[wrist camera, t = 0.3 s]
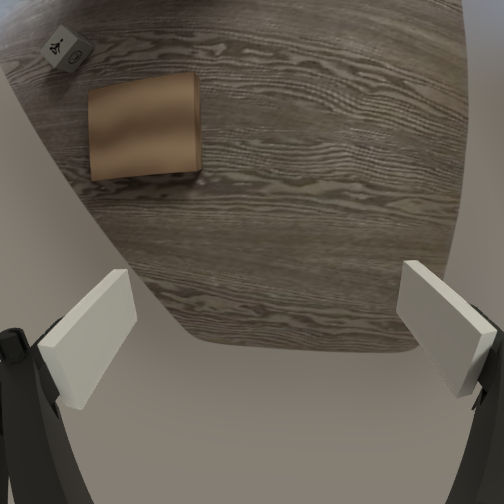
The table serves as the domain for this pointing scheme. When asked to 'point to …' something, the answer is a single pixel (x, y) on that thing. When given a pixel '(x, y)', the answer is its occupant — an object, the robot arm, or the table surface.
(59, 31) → the dice cube
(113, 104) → the brown flat block
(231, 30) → the table surface
